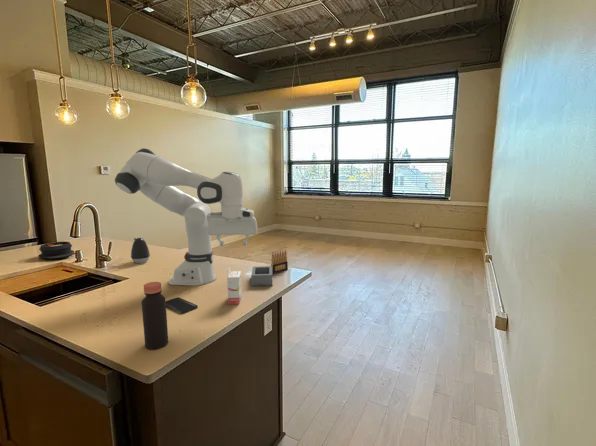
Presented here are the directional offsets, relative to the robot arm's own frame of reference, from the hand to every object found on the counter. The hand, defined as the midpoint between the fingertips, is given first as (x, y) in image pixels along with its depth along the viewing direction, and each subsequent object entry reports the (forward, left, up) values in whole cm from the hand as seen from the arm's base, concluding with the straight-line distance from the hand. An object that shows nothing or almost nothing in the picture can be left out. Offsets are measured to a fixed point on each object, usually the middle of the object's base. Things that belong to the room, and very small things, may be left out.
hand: (233, 245), depth 130 cm
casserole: (-122, +80, -25) cm, 148 cm away
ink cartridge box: (0, 0, -24) cm, 24 cm away
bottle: (-21, -33, -24) cm, 46 cm away
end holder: (+11, +23, -24) cm, 35 cm away
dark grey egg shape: (-63, +62, -24) cm, 92 cm away
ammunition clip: (+20, +38, -25) cm, 49 cm away
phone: (-22, -4, -25) cm, 33 cm away
